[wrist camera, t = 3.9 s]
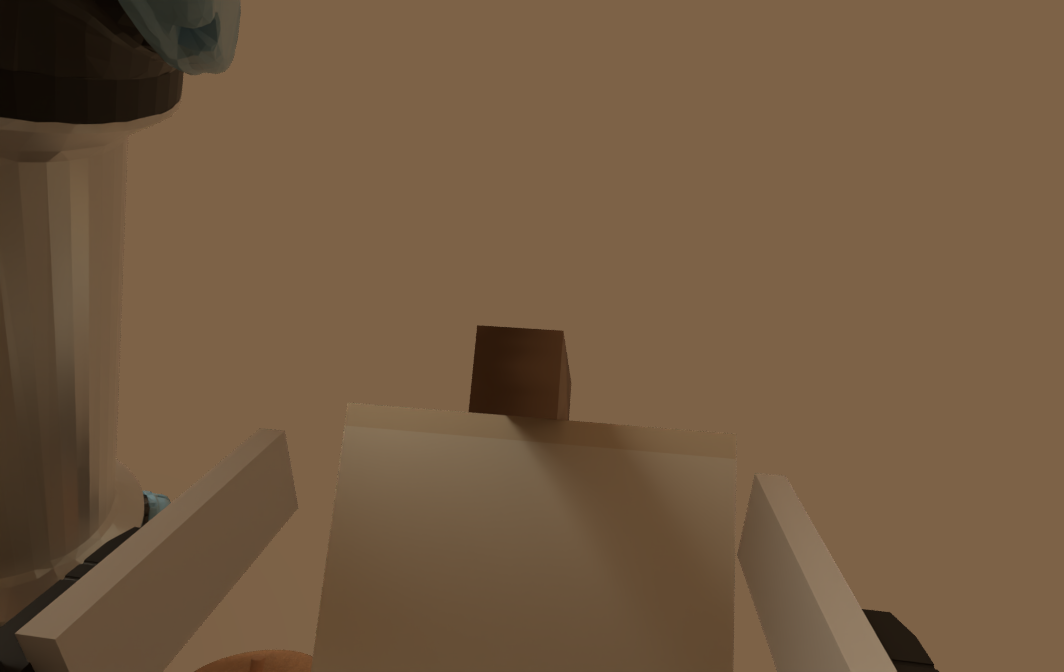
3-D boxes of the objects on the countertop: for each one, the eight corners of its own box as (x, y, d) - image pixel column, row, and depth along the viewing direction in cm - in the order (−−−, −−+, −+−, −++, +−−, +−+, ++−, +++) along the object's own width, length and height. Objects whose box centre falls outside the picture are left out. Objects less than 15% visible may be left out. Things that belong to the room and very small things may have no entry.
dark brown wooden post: (468, 412, 17) (477, 325, 18) (531, 417, 41) (534, 380, 41) (556, 419, 17) (563, 331, 17) (568, 420, 40) (571, 383, 41)
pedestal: (252, 1094, 22) (347, 402, 27) (388, 813, 38) (432, 409, 42) (725, 1203, 20) (736, 434, 25) (660, 858, 36) (674, 429, 40)
